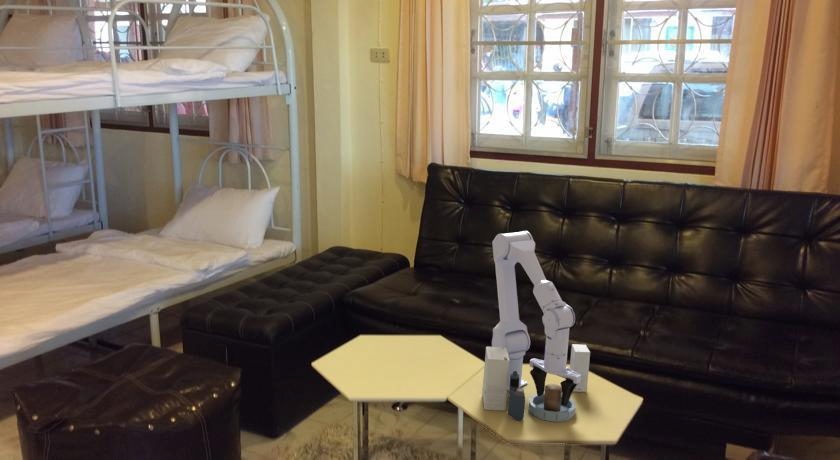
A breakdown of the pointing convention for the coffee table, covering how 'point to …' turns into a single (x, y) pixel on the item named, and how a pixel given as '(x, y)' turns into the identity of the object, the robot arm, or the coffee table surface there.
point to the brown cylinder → (552, 397)
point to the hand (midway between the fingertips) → (552, 399)
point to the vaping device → (516, 398)
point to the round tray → (563, 415)
